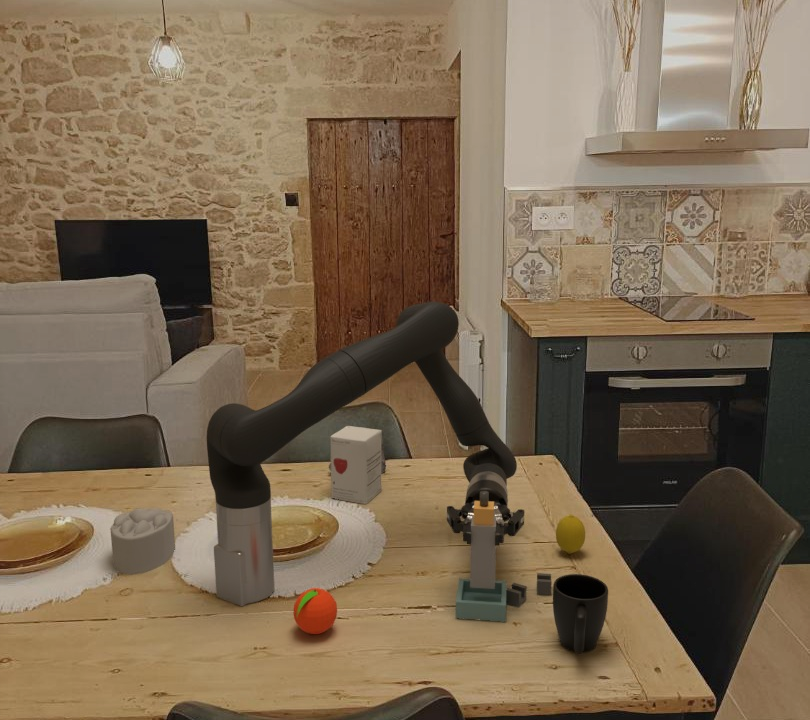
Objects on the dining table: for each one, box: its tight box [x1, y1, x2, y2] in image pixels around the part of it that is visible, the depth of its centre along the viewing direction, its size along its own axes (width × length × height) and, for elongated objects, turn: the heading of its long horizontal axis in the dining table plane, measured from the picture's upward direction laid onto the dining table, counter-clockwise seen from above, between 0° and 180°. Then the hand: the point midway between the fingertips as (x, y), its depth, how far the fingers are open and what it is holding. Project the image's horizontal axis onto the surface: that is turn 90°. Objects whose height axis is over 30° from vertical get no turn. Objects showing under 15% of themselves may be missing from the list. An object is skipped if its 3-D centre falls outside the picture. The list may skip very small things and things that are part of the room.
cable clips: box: [506, 572, 552, 608], centre depth 138 cm, size 9×5×2 cm, turn 147°
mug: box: [552, 573, 609, 654], centre depth 122 cm, size 8×12×10 cm
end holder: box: [455, 577, 508, 623], centre depth 135 cm, size 8×8×3 cm
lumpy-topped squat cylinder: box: [110, 507, 176, 575], centre depth 152 cm, size 10×13×9 cm
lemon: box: [555, 514, 586, 555], centre depth 154 cm, size 6×6×8 cm
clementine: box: [293, 587, 338, 635], centre depth 127 cm, size 8×7×7 cm
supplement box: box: [330, 425, 383, 505], centre depth 182 cm, size 9×9×15 cm
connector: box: [469, 491, 497, 589], centre depth 132 cm, size 4×4×16 cm
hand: (483, 539), depth 129 cm, fingers closed on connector, 4 cm apart
